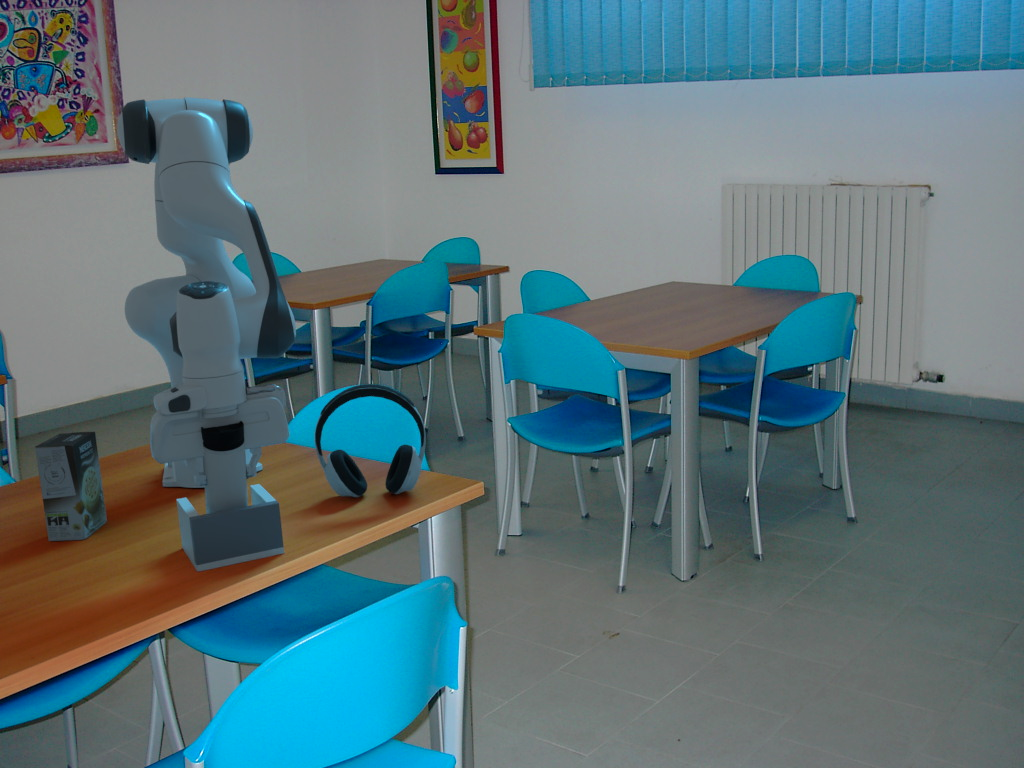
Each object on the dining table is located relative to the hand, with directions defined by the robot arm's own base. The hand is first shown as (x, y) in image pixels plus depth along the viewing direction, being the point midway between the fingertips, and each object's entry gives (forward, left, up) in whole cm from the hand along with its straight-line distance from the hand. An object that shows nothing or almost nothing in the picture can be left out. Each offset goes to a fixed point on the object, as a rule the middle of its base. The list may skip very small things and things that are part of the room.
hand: (226, 480), depth 165 cm
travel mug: (-3, 0, -10) cm, 10 cm away
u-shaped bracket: (-1, 0, -11) cm, 11 cm away
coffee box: (-26, -20, -12) cm, 35 cm away
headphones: (-14, +28, -12) cm, 33 cm away
